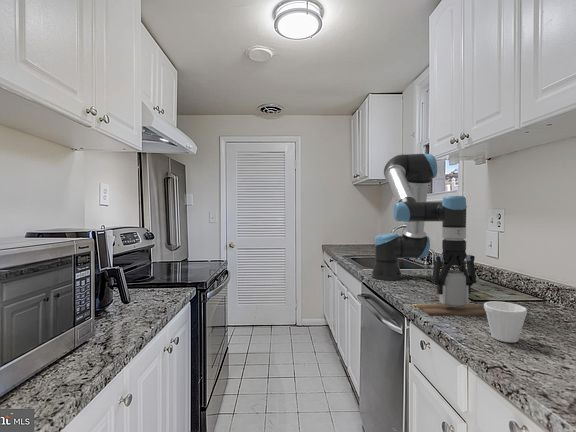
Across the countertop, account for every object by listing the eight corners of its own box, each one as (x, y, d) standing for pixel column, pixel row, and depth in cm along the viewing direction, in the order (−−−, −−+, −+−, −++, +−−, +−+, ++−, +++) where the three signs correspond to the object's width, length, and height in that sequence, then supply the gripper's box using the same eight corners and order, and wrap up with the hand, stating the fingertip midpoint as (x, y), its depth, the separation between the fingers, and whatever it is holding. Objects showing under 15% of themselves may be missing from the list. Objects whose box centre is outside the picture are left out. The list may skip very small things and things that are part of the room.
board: (416, 306, 119) (416, 304, 119) (474, 305, 119) (475, 303, 119) (429, 315, 109) (429, 313, 109) (492, 314, 109) (492, 312, 109)
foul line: (411, 304, 121) (411, 304, 121) (474, 304, 121) (474, 303, 121) (413, 305, 120) (413, 305, 120) (476, 305, 120) (476, 304, 120)
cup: (489, 329, 96) (489, 299, 96) (530, 339, 89) (530, 306, 88) (478, 339, 89) (479, 306, 89) (522, 350, 82) (522, 314, 82)
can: (460, 301, 117) (460, 269, 116) (469, 308, 109) (470, 273, 109) (439, 301, 117) (439, 269, 117) (447, 307, 110) (447, 273, 110)
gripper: (430, 240, 109) (430, 306, 109) (489, 239, 109) (488, 305, 110) (421, 238, 116) (421, 300, 117) (475, 237, 117) (475, 299, 117)
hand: (453, 302), depth 113 cm, fingers closed on can, 7 cm apart
